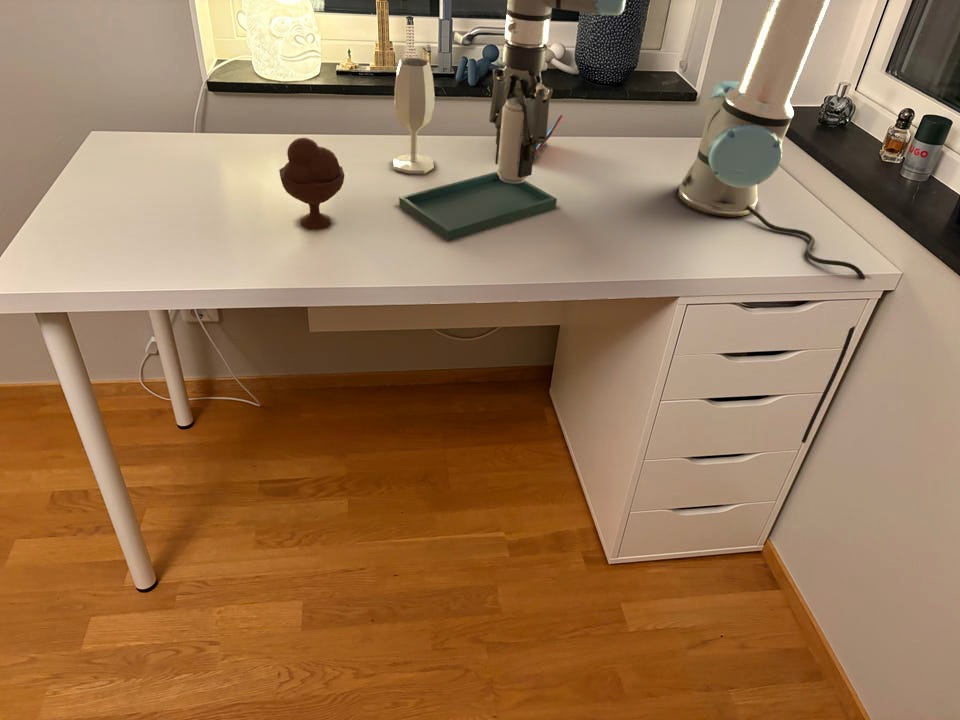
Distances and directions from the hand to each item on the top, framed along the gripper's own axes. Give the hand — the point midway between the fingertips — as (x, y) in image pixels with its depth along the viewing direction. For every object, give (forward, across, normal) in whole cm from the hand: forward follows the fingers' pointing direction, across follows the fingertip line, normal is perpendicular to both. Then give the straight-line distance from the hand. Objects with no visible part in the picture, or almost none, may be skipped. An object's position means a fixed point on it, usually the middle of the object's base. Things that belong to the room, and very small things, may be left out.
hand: (513, 169), depth 144 cm
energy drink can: (+2, 0, 0) cm, 2 cm away
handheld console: (+6, -16, +19) cm, 26 cm away
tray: (+6, 0, -8) cm, 10 cm away
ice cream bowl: (+6, -10, -37) cm, 39 cm away
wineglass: (+6, -22, -8) cm, 24 cm away
